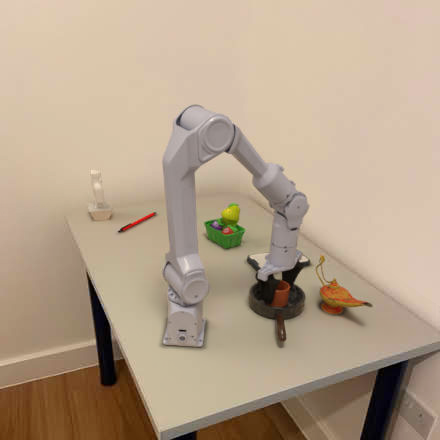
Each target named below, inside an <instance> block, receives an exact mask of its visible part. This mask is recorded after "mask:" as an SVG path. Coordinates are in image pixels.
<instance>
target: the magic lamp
mask: <svg viewBox="0 0 440 440" xmlns="http://www.w3.org/2000/svg"><path fill="white" fill-rule="evenodd" d="M325 261H326V257H325V255H323V254H320V257H319V261H318V262H319V263H318V264H317V265H316V267H315V273H316V275H317V277H318V279H319V281H320V282H321V284H322V286H319V296H320V297H319V298H321V299H322V301H324V302H322V303H321V304H320V308H321V310H323V312H325V313H327V314H331V315H338V314H341V313H342V312H343V311H344V308H358V307H368V308H373V307H374V305H373V304H372V303H371V302H368V301H365V300H360V299H356V298H355V297H353V295H352V294H351V293H350V291H349V290H348V289H346V288H345V287H343V286H341V285H339V283H338V282H337V278H335V277H334V278H333V279H332V280H330V281H329V280H327V279H326V278H325V275H324V271H323V264H324V263H325ZM319 267H320V269H321V275H322V278H321V275H319V272H318V268H319ZM323 280H324V281H325V283H327V284H325V283H324V281H323Z"/></svg>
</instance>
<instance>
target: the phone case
mask: <svg viewBox="0 0 440 440" xmlns="http://www.w3.org/2000/svg"><path fill="white" fill-rule="evenodd" d="M269 252H270V251H267V252H260V253H253V254H249V255H247V256H246V261H247V263H249V264H250V266H252V267H253V268H254V269H255V270H256V271H257V272H258V270H260V269H261V268H262V267H263V265H264V264H265V262H266V261H267V260H266V259H265V256H266V255H268V254H269ZM299 262H302V263H303V264H304V267H307V266H310V264H311V260H310V258H308V257H307V256H306V255H305V254H303V255H302V259H301V260H299Z"/></svg>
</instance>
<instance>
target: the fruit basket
mask: <svg viewBox="0 0 440 440" xmlns="http://www.w3.org/2000/svg"><path fill="white" fill-rule="evenodd" d="M240 214H241V208H240V207H239V204H238V203H235V202H231V203H230V204H228V206H227V207H226V208H225V209H223V210H222V211H221V213H220V215H221V217H219V218H214V219H210V220H207V221H204V222H203V225H204V227H205V231H206V234H207V238H208V240H210V241H212V242H214V243H215V244H217V245H219V246H220V247H222V248H224V249H225V250H228V249H231V248H234V247H236V246H240V245H241V242H242V239H243V236H244V234H245V232H246V228H245V227H243V226H241V225H239V224H238V223H239V221H240Z"/></svg>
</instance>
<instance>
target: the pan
mask: <svg viewBox="0 0 440 440" xmlns="http://www.w3.org/2000/svg"><path fill="white" fill-rule="evenodd" d="M277 279H278V278H277ZM278 280H280V278H279V279H278ZM305 302H306V293H305V291H304V290H303V289H302V287H300V286H299V285H297V284H295V283H294V284H293V287H292V289H291V291H289V298H288V303H287V305H286V306H284V307H274V306H269V305H268V304H267V303H266V302H264V301H263V298H262V293H261V289H260V286H259V283H258V281H256V282H255V283H253V285H251V286H250V288H249V293H248V304H249V307H250V308H251V309H252V310H253V311H254V312H255V313H257V314H259V315H261V316H262V317H266V318H269V319H275V320H276V310H282V312H283V316H284V320H286V319H291V318H294V317H296V316H297V315H300V314H301V313H302V312H303V311H304V307H305Z"/></svg>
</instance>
